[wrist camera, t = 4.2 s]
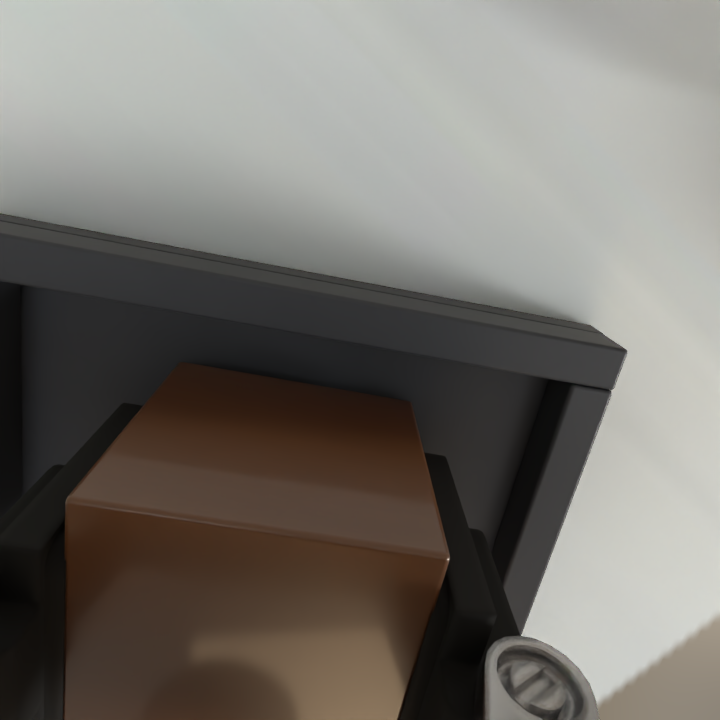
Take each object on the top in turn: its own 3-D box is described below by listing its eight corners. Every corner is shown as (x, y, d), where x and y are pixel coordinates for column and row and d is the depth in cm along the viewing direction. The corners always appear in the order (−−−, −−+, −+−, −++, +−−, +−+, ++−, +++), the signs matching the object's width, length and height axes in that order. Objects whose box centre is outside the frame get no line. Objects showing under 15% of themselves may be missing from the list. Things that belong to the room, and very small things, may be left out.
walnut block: (178, 359, 10) (62, 498, 6) (412, 399, 11) (453, 556, 6) (161, 552, 12) (57, 770, 7) (366, 582, 12) (376, 806, 8)
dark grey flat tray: (-6, 212, 10) (-68, 220, 9) (591, 325, 11) (630, 350, 10) (7, 786, 15) (-30, 854, 14) (417, 827, 16) (424, 895, 15)
